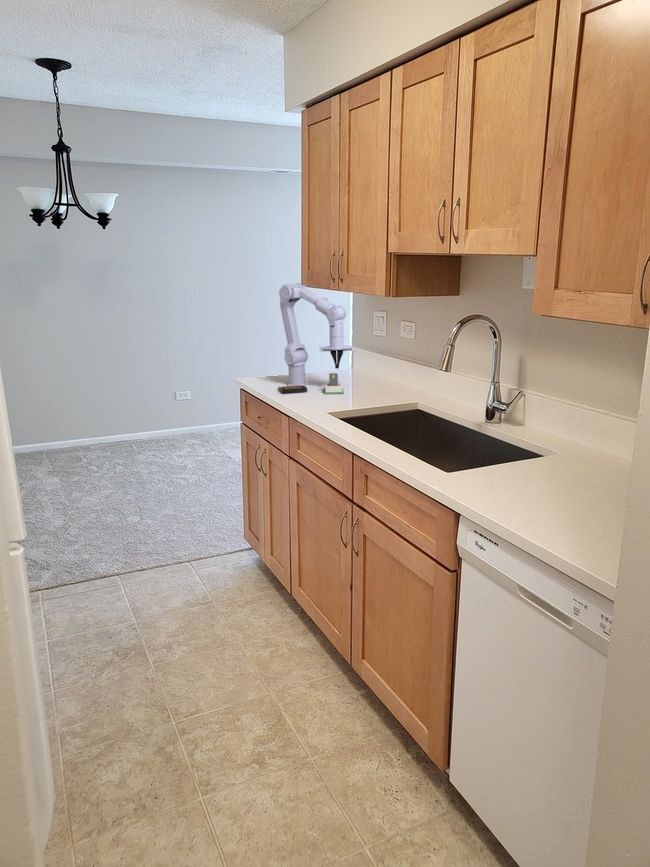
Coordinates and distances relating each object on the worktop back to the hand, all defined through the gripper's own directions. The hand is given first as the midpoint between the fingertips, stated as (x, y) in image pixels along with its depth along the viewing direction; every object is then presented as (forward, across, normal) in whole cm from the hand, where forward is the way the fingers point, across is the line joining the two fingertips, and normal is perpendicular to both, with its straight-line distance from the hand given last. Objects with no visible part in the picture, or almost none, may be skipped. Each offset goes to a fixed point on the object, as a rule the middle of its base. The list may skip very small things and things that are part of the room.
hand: (337, 368), depth 280 cm
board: (+10, -2, -3) cm, 10 cm away
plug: (+9, -2, -3) cm, 10 cm away
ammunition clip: (+9, -18, -4) cm, 20 cm away
